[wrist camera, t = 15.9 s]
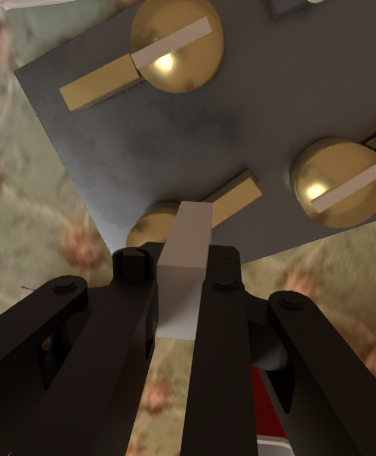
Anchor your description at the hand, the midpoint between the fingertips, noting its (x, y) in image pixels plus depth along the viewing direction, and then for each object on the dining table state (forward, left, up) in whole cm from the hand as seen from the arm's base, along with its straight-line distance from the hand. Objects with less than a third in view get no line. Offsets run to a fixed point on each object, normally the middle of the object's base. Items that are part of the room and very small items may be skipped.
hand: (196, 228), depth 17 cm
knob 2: (+3, -3, -13) cm, 13 cm away
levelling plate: (-2, +2, -15) cm, 15 cm away
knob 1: (-9, -1, -13) cm, 16 cm away
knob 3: (+3, +11, -13) cm, 17 cm away
